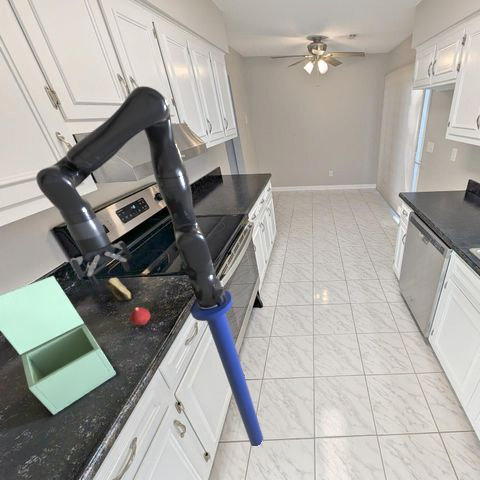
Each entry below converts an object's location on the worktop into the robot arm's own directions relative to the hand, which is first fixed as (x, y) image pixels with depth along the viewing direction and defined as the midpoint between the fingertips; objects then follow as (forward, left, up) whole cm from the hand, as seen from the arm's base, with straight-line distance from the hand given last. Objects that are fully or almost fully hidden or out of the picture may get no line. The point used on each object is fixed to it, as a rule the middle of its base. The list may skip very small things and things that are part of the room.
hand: (112, 277), depth 84 cm
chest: (+5, +21, -21) cm, 30 cm away
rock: (+16, -19, -21) cm, 33 cm away
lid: (+12, +15, -1) cm, 19 cm away
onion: (-3, +1, -21) cm, 21 cm away
